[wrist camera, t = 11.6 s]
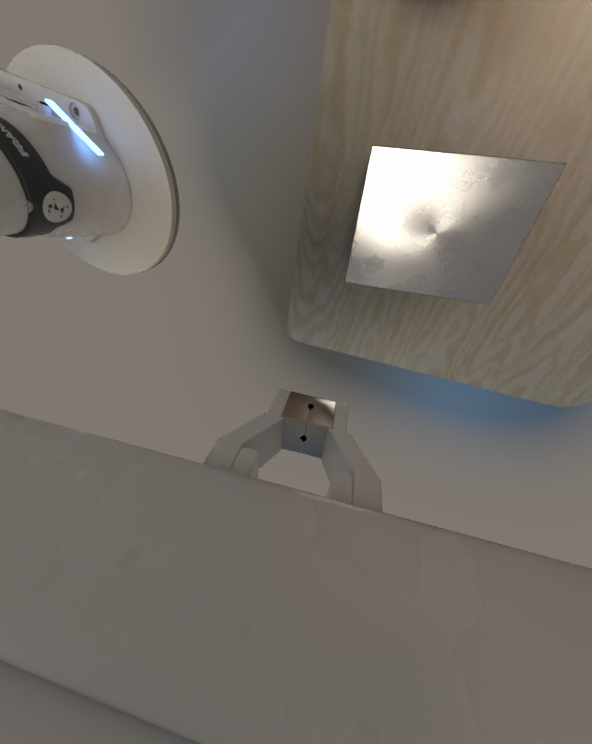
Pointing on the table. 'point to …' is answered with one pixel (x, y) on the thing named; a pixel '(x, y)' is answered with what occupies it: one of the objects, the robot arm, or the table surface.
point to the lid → (445, 220)
